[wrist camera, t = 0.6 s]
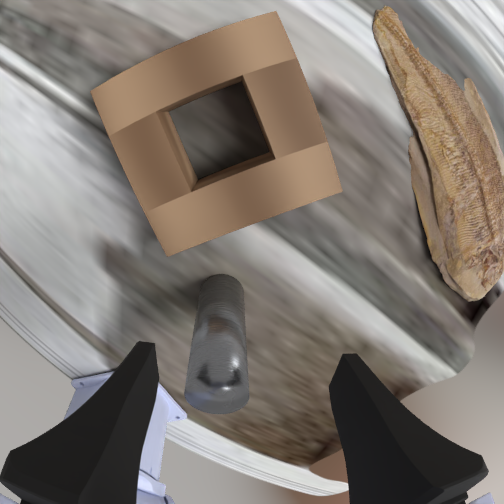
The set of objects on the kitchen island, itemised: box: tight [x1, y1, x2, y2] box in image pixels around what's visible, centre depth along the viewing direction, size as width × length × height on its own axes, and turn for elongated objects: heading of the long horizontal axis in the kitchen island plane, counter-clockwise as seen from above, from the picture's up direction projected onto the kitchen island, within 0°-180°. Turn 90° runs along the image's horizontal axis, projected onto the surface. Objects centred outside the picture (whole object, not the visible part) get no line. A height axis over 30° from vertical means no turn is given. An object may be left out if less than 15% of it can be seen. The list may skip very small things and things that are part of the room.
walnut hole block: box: [90, 11, 342, 257], centre depth 15 cm, size 10×10×3 cm
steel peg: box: [184, 274, 249, 414], centre depth 17 cm, size 3×3×9 cm
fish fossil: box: [373, 6, 504, 301], centre depth 18 cm, size 26×10×1 cm, turn 36°
